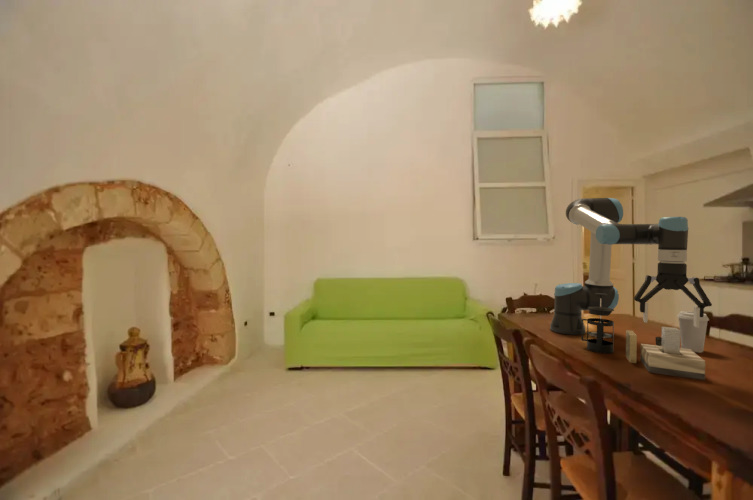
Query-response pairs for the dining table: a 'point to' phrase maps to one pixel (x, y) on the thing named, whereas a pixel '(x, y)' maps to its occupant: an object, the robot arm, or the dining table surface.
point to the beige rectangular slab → (631, 346)
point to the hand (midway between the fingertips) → (670, 324)
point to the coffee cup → (692, 331)
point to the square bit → (670, 340)
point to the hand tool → (658, 341)
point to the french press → (599, 330)
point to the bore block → (672, 362)
